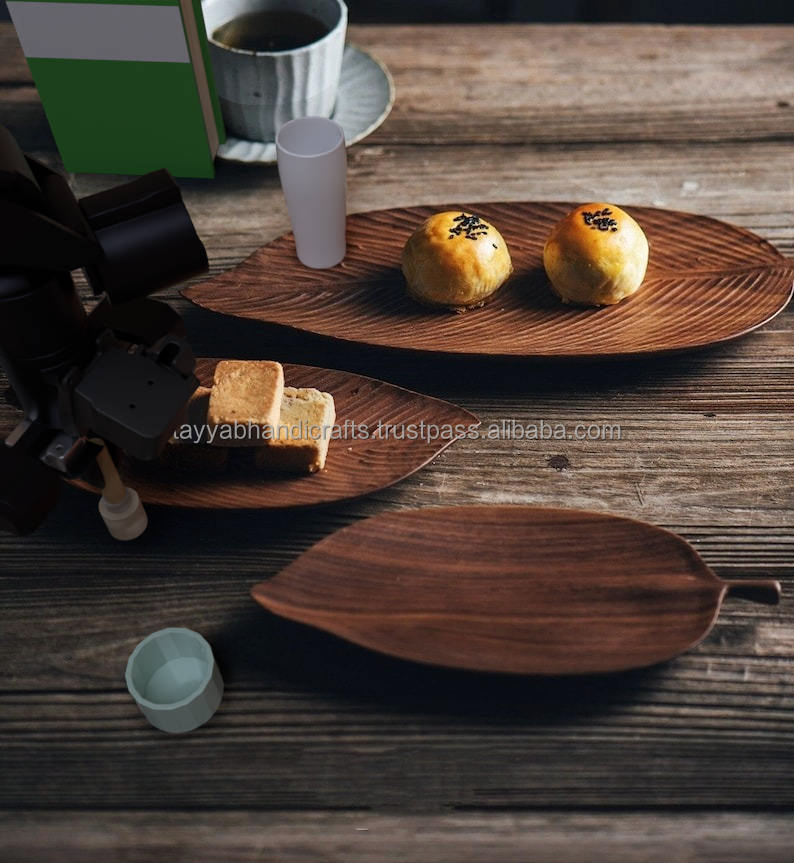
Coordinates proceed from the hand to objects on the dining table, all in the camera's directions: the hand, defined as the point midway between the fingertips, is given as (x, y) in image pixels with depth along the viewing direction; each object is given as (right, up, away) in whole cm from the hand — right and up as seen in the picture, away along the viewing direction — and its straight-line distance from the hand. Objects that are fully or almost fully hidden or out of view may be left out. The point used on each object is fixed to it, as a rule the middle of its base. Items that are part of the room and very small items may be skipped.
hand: (106, 476), depth 67 cm
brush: (0, -4, +5) cm, 6 cm away
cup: (+5, -17, +3) cm, 18 cm away
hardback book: (-9, +36, +44) cm, 58 cm away
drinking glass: (+13, +22, +33) cm, 42 cm away
